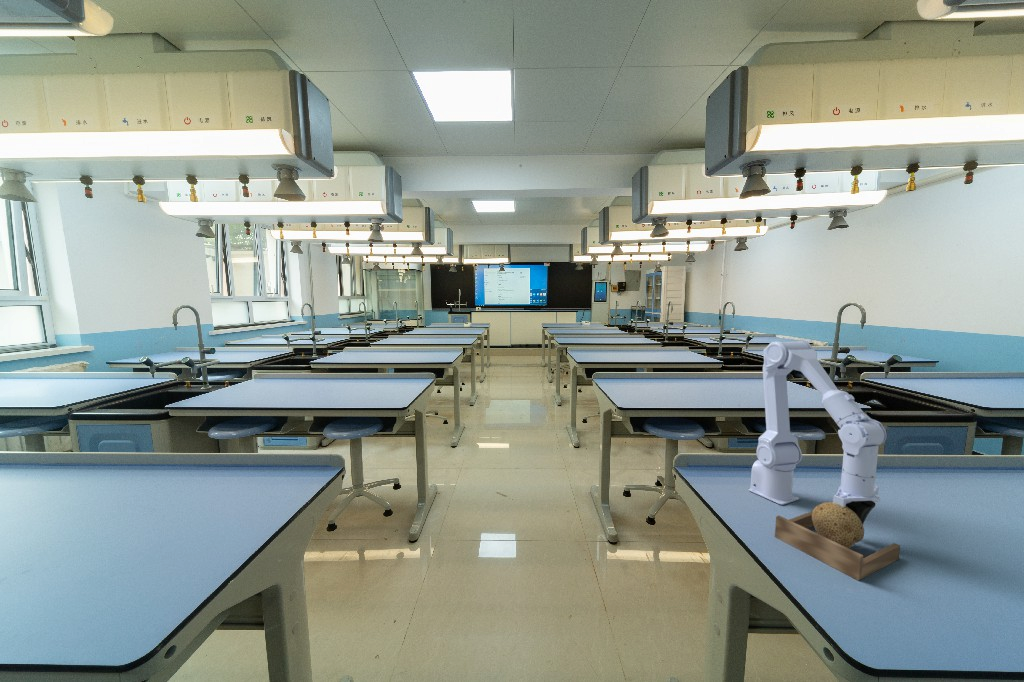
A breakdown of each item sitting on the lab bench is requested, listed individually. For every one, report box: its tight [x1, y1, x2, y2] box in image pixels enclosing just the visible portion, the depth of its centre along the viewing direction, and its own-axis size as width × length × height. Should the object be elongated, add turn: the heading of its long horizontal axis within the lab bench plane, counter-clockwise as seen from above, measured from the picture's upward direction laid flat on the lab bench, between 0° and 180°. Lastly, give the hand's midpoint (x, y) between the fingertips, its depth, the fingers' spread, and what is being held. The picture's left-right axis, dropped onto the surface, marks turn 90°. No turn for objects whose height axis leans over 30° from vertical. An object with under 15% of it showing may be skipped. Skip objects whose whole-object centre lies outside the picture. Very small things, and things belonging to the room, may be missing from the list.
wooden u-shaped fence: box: [774, 510, 901, 582], centre depth 87 cm, size 16×16×5 cm
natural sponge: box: [812, 501, 865, 549], centre depth 87 cm, size 9×9×10 cm
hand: (853, 529), depth 90 cm, fingers closed
